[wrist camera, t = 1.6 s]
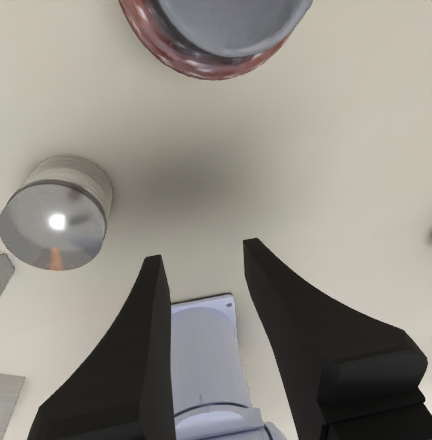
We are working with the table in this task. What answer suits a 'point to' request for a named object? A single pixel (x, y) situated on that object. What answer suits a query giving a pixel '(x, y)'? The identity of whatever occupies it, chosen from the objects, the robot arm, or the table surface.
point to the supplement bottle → (213, 32)
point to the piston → (58, 214)
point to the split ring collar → (5, 271)
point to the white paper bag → (8, 399)
